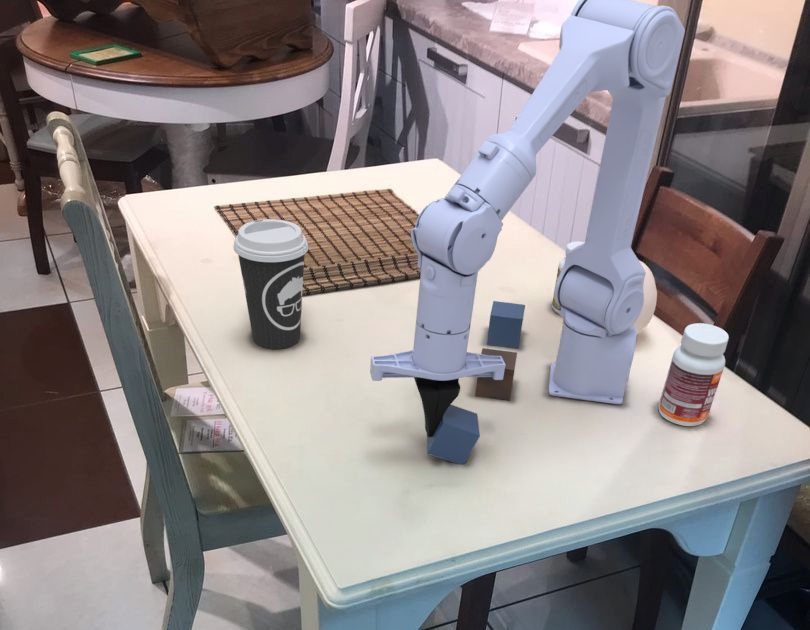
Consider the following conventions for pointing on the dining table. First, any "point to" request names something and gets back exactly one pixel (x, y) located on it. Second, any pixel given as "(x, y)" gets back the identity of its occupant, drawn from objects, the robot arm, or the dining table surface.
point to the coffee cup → (272, 279)
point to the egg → (647, 300)
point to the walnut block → (498, 387)
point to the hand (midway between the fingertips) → (430, 432)
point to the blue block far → (505, 324)
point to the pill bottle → (694, 375)
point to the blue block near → (454, 435)
